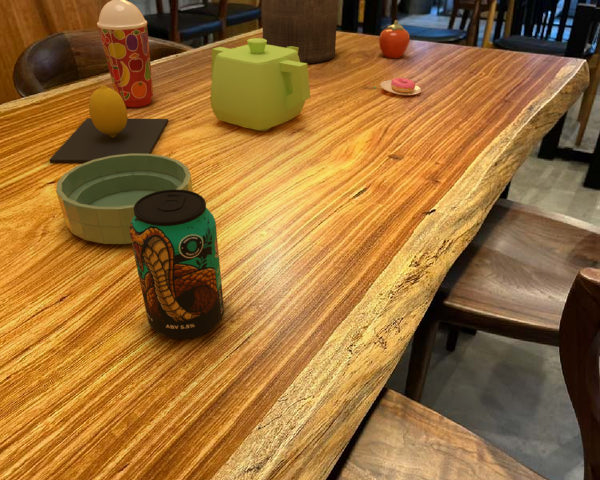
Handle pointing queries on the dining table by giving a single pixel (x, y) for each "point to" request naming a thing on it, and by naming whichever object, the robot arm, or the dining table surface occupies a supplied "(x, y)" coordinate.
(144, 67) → the smoothie
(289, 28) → the planter
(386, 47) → the tomato
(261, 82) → the teapot
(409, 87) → the donut
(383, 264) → the dining table surface
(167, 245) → the beverage can
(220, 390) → the dining table surface
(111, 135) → the lemon
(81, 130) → the mat
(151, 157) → the bowl
